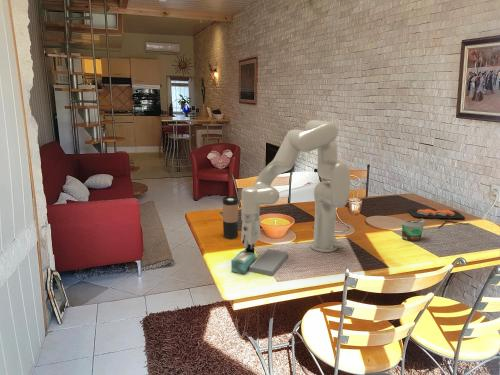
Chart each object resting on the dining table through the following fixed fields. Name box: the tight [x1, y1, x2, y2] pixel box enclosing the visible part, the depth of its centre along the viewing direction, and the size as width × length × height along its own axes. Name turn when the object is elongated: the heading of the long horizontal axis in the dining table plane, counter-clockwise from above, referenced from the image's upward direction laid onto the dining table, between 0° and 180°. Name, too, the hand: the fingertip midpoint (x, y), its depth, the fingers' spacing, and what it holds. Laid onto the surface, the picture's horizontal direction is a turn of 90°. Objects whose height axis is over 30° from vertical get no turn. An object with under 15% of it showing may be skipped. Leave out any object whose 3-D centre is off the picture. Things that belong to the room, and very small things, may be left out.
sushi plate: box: [407, 208, 469, 229], centre depth 218 cm, size 29×30×4 cm
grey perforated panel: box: [242, 248, 289, 277], centre depth 163 cm, size 18×20×3 cm
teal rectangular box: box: [230, 250, 256, 275], centre depth 157 cm, size 6×10×5 cm, turn 156°
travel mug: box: [222, 195, 239, 240], centre depth 190 cm, size 8×8×20 cm
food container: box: [400, 218, 426, 243], centre depth 187 cm, size 12×6×10 cm, turn 105°
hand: (250, 256), depth 164 cm, fingers closed
